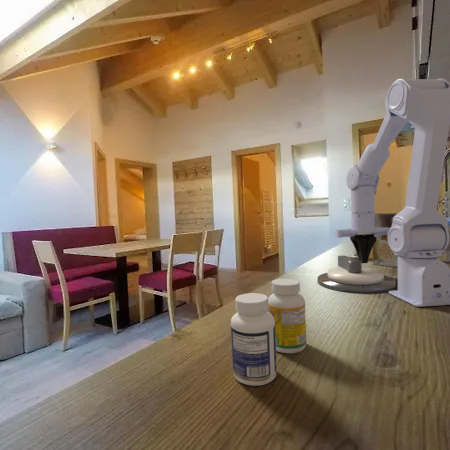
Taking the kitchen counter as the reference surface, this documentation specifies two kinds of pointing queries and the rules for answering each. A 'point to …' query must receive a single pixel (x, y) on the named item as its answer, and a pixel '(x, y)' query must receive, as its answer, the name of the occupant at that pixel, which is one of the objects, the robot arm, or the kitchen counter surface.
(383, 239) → the coffee box
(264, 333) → the pill bottle
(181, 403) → the kitchen counter surface
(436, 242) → the robot arm
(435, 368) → the kitchen counter surface
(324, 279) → the dial plate
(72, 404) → the kitchen counter surface
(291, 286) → the supplement bottle
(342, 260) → the dial
